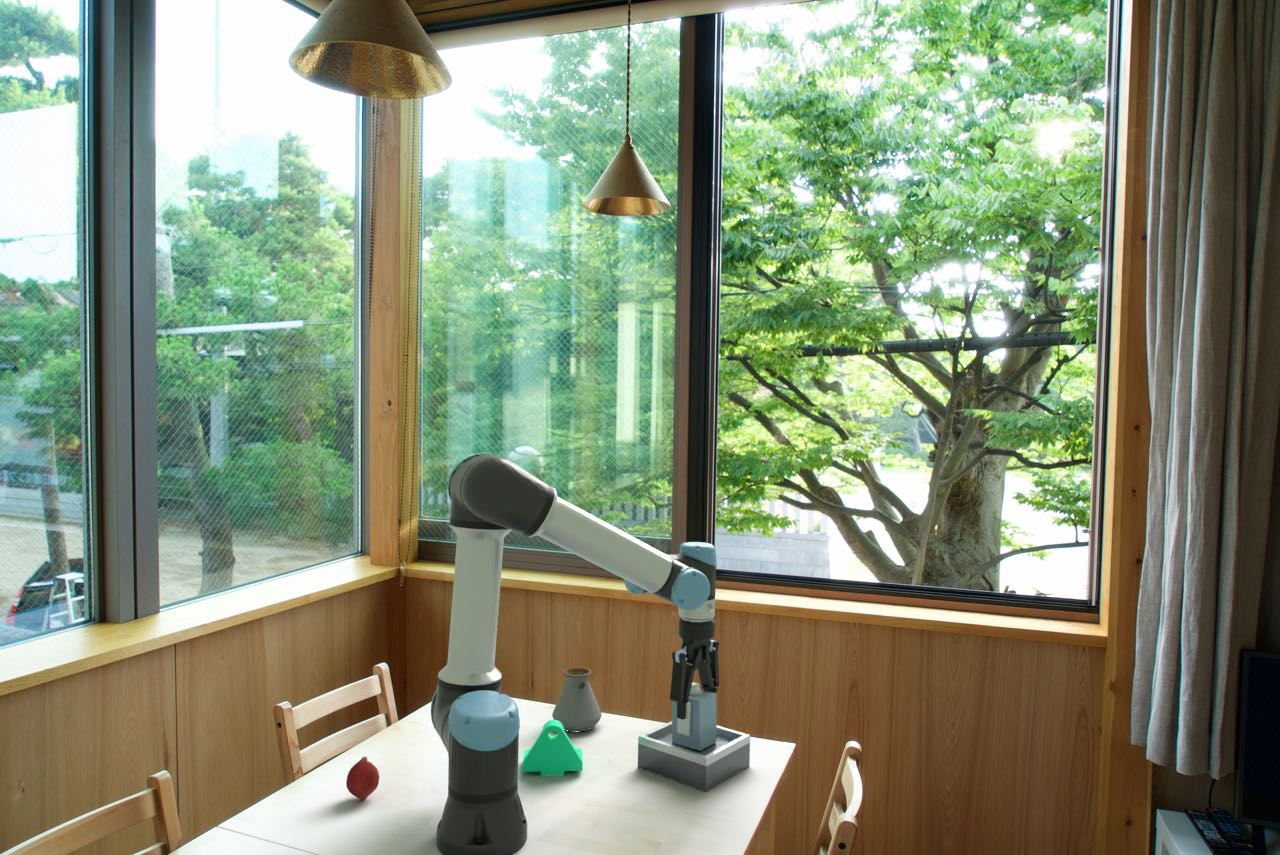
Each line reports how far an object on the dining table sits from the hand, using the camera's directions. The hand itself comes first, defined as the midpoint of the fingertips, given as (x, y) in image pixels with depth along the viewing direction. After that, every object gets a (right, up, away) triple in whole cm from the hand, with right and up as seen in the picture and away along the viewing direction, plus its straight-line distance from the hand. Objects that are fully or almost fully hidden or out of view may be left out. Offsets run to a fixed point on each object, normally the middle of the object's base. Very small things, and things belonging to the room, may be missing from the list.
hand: (694, 728), depth 171 cm
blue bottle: (0, -3, 0) cm, 3 cm away
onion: (-63, -7, -17) cm, 66 cm away
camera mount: (-29, -8, -2) cm, 30 cm away
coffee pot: (-25, -8, +17) cm, 31 cm away
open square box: (0, -8, 0) cm, 8 cm away
